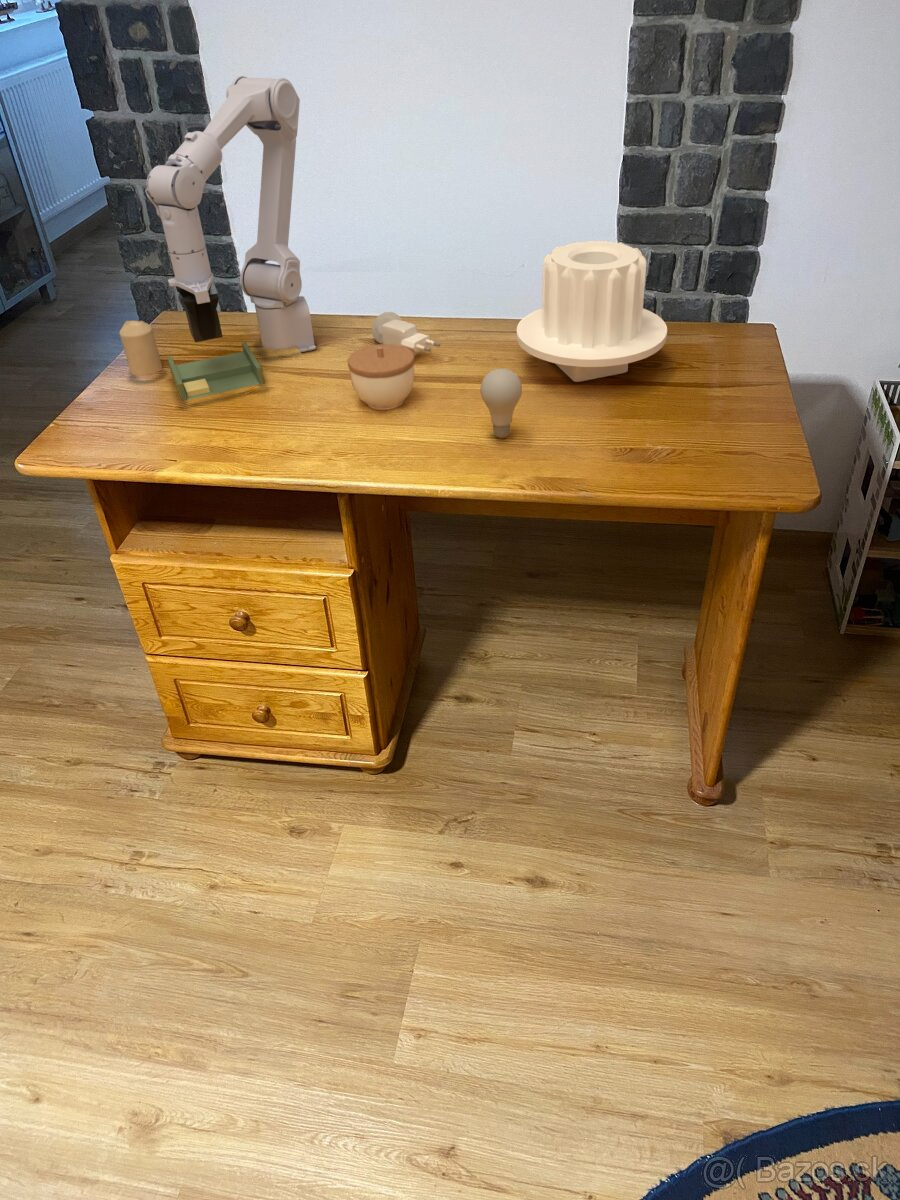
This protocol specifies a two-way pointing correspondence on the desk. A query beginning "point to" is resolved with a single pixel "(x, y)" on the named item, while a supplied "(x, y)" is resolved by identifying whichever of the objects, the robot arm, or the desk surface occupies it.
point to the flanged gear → (592, 311)
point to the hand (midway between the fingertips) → (206, 332)
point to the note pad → (196, 387)
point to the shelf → (219, 372)
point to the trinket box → (382, 375)
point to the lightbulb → (501, 398)
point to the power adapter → (406, 336)
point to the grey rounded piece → (379, 323)
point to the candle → (140, 348)
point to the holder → (195, 330)
